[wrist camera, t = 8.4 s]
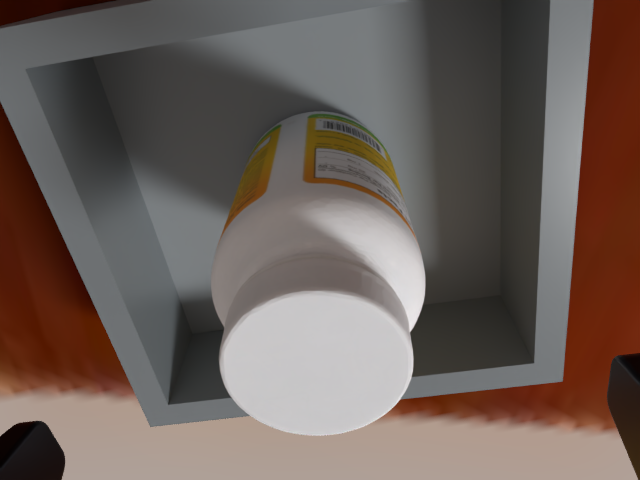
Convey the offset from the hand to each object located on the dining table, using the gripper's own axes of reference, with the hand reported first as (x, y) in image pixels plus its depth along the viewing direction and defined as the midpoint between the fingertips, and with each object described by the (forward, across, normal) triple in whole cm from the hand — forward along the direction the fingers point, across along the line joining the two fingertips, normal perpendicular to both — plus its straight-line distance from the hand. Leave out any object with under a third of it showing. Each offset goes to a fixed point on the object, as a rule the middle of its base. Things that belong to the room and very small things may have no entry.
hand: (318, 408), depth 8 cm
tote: (+13, 0, +1) cm, 13 cm away
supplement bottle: (+12, 0, +1) cm, 12 cm away
